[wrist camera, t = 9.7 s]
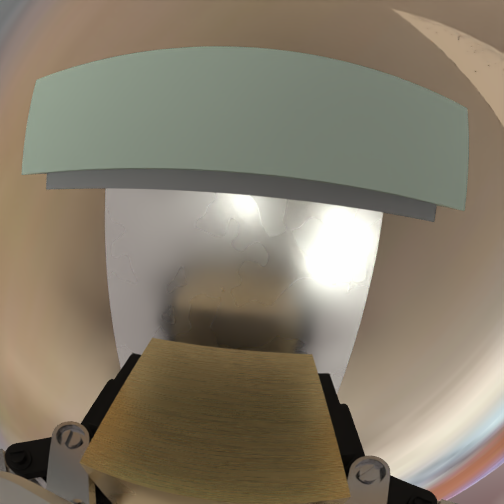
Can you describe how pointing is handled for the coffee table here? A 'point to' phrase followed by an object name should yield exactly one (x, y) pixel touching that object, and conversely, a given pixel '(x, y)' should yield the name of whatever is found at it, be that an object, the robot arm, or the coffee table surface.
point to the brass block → (218, 431)
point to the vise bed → (238, 272)
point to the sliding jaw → (250, 130)
